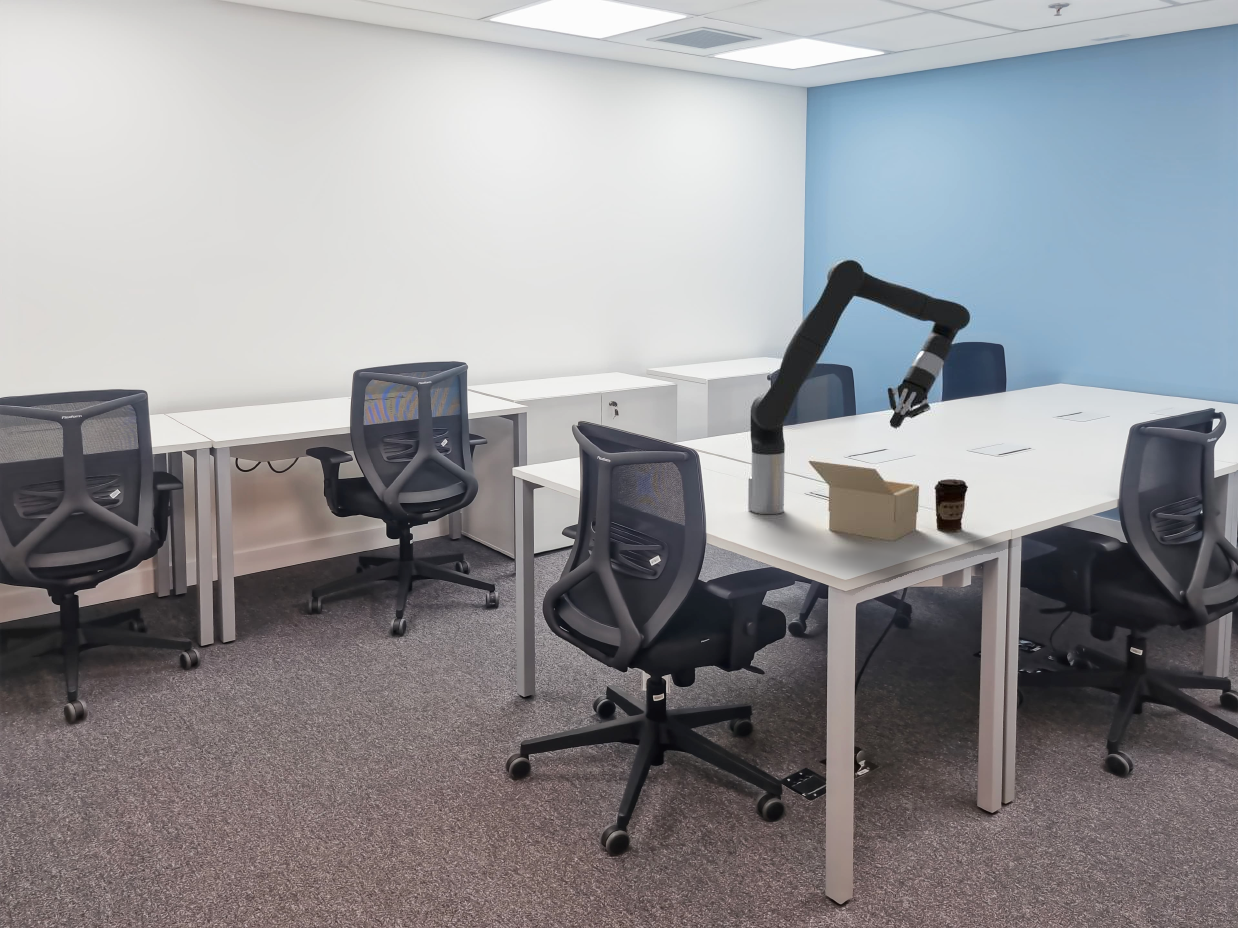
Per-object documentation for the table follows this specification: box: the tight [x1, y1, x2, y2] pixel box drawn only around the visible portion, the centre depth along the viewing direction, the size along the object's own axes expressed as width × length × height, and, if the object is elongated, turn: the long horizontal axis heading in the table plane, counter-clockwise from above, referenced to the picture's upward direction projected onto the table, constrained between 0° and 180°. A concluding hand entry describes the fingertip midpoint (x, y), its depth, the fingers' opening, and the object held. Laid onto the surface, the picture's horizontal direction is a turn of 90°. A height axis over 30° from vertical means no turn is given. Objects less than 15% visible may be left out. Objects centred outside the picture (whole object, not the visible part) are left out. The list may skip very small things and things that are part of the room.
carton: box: [828, 480, 920, 542], centre depth 265 cm, size 19×14×12 cm
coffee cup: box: [934, 478, 969, 532], centre depth 264 cm, size 9×8×13 cm
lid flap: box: [808, 460, 894, 496], centre depth 253 cm, size 18×14×1 cm
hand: (893, 426), depth 274 cm, fingers closed
